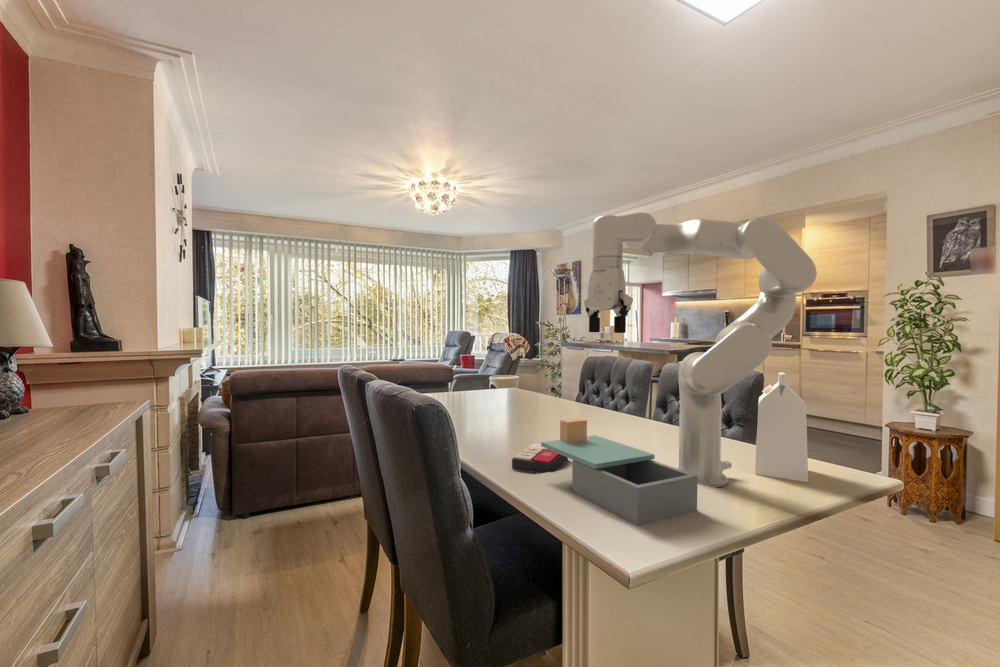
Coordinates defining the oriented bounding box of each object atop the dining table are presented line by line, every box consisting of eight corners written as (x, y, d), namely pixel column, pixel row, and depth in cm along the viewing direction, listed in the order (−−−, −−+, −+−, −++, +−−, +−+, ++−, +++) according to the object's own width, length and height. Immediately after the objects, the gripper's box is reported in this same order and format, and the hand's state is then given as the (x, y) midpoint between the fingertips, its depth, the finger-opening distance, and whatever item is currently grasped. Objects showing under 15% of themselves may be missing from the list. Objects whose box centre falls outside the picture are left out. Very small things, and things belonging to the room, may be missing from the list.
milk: (808, 482, 115) (810, 376, 114) (754, 474, 120) (756, 373, 120) (804, 469, 125) (806, 372, 125) (755, 462, 131) (757, 370, 130)
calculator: (511, 456, 123) (532, 441, 137) (511, 472, 123) (532, 455, 137) (550, 461, 118) (568, 445, 132) (550, 478, 119) (568, 460, 132)
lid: (595, 439, 122) (595, 416, 122) (654, 459, 104) (654, 432, 104) (541, 446, 114) (541, 421, 114) (594, 469, 96) (595, 440, 96)
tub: (626, 485, 111) (627, 451, 111) (697, 515, 93) (697, 475, 93) (572, 495, 104) (572, 460, 104) (637, 531, 86) (637, 487, 86)
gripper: (575, 268, 125) (574, 332, 125) (619, 260, 109) (618, 333, 110) (597, 270, 128) (596, 332, 128) (643, 262, 113) (642, 333, 113)
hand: (606, 332), depth 119 cm, fingers open, 9 cm apart
